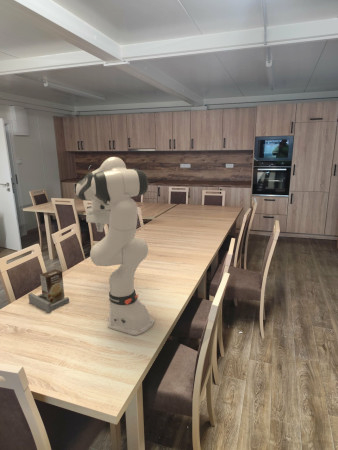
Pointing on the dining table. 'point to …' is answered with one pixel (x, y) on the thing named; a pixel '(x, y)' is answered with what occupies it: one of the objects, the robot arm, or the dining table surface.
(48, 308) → the grey u-shaped bracket
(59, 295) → the coffee box
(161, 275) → the dining table surface
